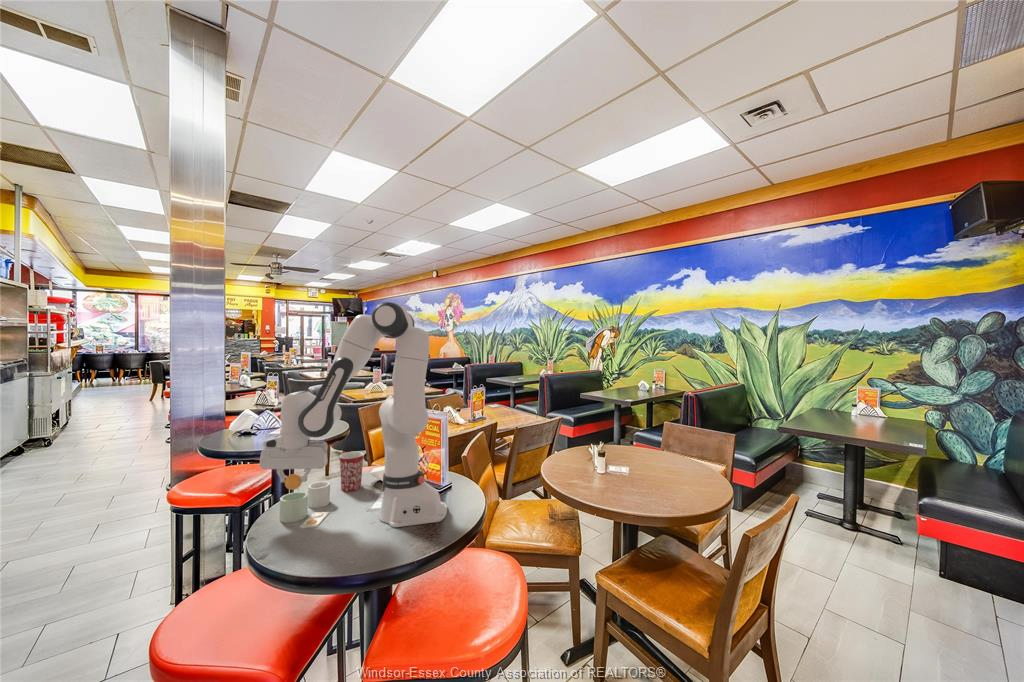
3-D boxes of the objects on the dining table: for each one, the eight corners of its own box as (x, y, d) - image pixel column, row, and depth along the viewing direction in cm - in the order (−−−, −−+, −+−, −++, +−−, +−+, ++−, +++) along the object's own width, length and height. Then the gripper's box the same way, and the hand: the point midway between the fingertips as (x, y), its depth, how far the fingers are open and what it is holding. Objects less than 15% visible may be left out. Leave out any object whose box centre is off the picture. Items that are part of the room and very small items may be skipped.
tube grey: (332, 499, 136) (332, 481, 137) (324, 507, 130) (325, 488, 130) (312, 500, 136) (313, 481, 136) (304, 508, 129) (304, 488, 129)
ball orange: (304, 486, 125) (305, 471, 125) (297, 492, 120) (298, 476, 120) (289, 486, 125) (289, 471, 125) (281, 492, 120) (282, 476, 120)
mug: (356, 493, 143) (357, 458, 143) (334, 492, 143) (334, 457, 144) (371, 481, 155) (371, 449, 156) (350, 480, 156) (350, 448, 156)
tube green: (311, 511, 127) (311, 491, 127) (300, 522, 119) (300, 500, 119) (287, 512, 126) (287, 492, 126) (274, 523, 118) (275, 501, 118)
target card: (329, 513, 125) (329, 511, 125) (316, 527, 115) (316, 525, 115) (313, 513, 125) (313, 512, 125) (299, 528, 115) (299, 526, 115)
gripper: (331, 437, 127) (330, 477, 127) (268, 437, 125) (266, 478, 125) (323, 442, 121) (322, 484, 120) (257, 442, 119) (256, 485, 118)
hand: (293, 481), depth 123 cm, fingers closed on ball orange, 5 cm apart
